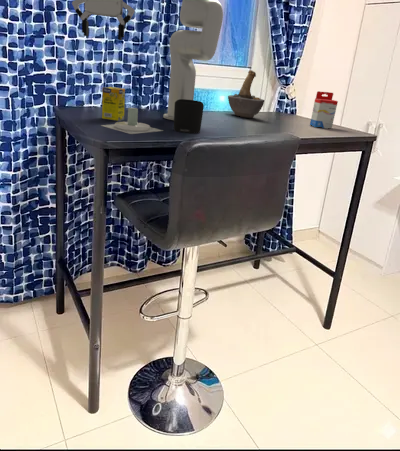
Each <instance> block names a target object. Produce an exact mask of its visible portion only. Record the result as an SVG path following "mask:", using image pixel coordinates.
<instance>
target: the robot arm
mask: <svg viewBox="0 0 400 451" xmlns="http://www.w3.org/2000/svg"><path fill="white" fill-rule="evenodd" d="M71 4H72V7H73V9H74V11H75V13H76V15H77V16H78V17H79V18H80V20H81V33H83V36H84V37H89V33H90V30H89V28H90V27H89V26H90V24H89V21H88V19H89V17H91V15H94V16H101V17H108V18H109V17H110V18H116V19H117V20H118V26H117V28H118V29H117V39H118V40H119V41H122V40H123V38H125V26H126V24H128V23H129V21H131V20H132V18H133V15H134V13H135V11H136V10H135V9H134V8H133V7H132V6H131V5H129V4H127V3H126V2H125V1H123V0H73V1H71ZM82 4H84V12H82V10H81V8H80V5H82ZM123 8H124V9H125V10H126V11H127V14H126V16H125V17H124V18H123V13H124V12H123V10H124V9H123ZM223 10H224V9H223V6H222V4H221V3H220V1H219V0H182V1H181V7H180V12H179V20H180V24H181V25H183V26H184V27H186V28H192V29H201V31H200V30H191V29H190V30H189V29H179V30H176V31H175V32H173V33H172V34H171V36H170V39H169V52H170V54H169V55H170V73H169V74H170V75H169V90H168V101H167V102H168V104H167V113H164V114H163V117H162V118H164V119H167V120H171V121H174V108H175V102H176V101H177V100H179V99H186V100H194V99H195V98H194V95H195V86H196V76H197V73H196V72H197V70H196V67H195V64H194V61H193V60H196V61H204V62H206V61H210V60H212V59H213V58H214V56H215V54H216V50H217V47H218V42H219V38H220V34H221V29H222V26H223V18H224V11H223Z"/></svg>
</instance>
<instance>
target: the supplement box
mask: <svg viewBox="0 0 400 451" xmlns="http://www.w3.org/2000/svg"><path fill="white" fill-rule="evenodd" d="M101 96H102V97H101V99H102V102H101V104H102V106H101V119H102V120H105V121H113V122H121V121H124V120H125V102H126V99H125V98H126V97H125V96H126V88H122V87H115V86H107V87H106V86H104V87H102V93H101Z"/></svg>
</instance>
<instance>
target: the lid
mask: <svg viewBox="0 0 400 451" xmlns="http://www.w3.org/2000/svg"><path fill="white" fill-rule="evenodd" d="M138 113H139V109H138V107H137V108H136V107H128V108H127V121H115V123H114V124H115V128H117V129H120V130H126V131H149V130H150V127H151V125H149V124H147V123H143V122H138V117H139V116H138V115H139V114H138Z"/></svg>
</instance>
